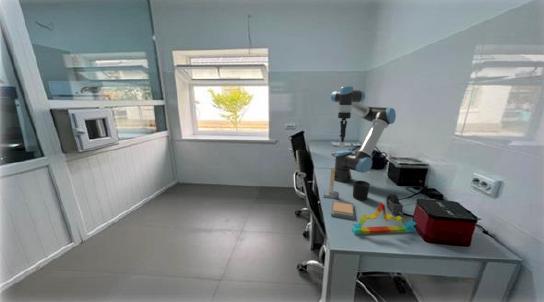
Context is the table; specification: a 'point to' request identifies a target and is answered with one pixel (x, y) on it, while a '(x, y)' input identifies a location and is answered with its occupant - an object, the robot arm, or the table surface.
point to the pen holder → (360, 190)
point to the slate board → (342, 214)
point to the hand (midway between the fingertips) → (341, 144)
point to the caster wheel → (394, 204)
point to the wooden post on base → (331, 185)
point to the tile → (343, 209)
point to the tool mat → (331, 197)
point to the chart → (383, 229)
